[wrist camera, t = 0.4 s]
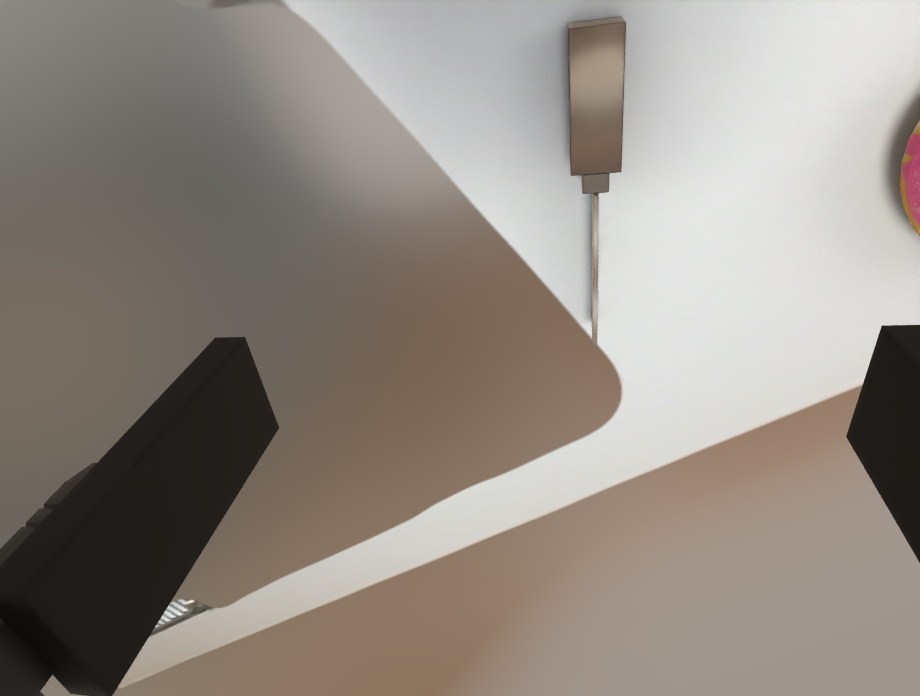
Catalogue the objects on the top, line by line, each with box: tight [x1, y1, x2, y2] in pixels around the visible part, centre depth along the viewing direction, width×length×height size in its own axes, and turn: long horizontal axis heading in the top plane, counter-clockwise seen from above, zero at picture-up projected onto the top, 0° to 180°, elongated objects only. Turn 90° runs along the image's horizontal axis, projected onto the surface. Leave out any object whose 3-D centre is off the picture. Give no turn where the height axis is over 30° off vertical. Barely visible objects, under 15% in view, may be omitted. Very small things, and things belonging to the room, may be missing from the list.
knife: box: [568, 17, 626, 345], centre depth 37 cm, size 20×3×4 cm, turn 7°
